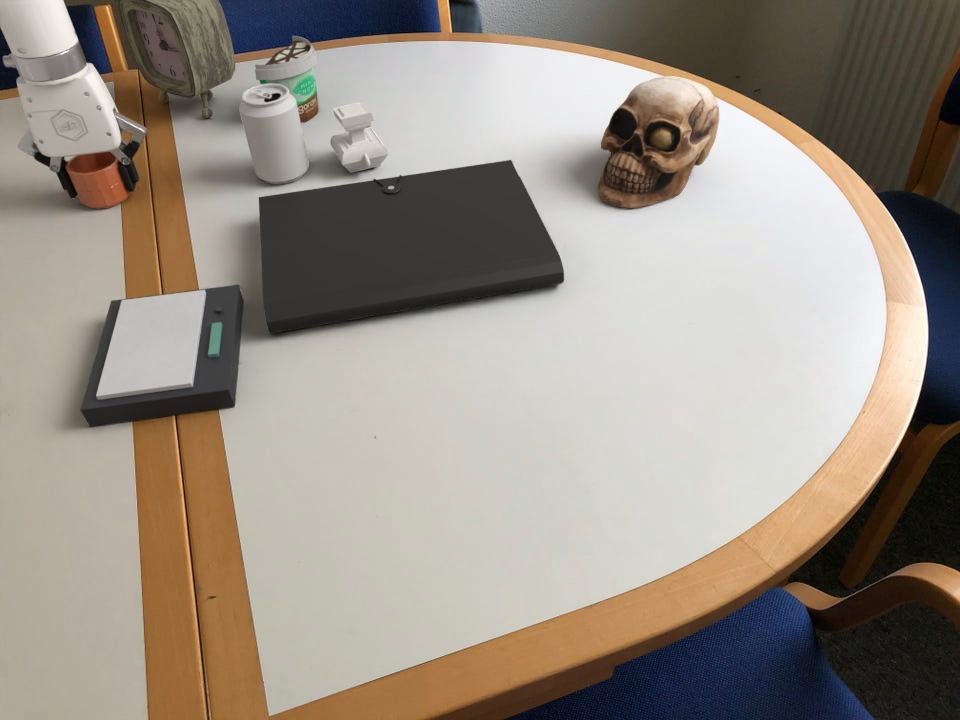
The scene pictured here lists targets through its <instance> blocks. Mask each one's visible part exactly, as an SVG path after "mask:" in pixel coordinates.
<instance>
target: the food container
mask: <svg viewBox="0 0 960 720" xmlns="http://www.w3.org/2000/svg"><path fill="white" fill-rule="evenodd" d="M291 38H292V42H290V44H289V45H288V46H286V47H285V48H283V49H281V50H279V51H277V52H275V53H274V54H273V55H272V56H271V58H270V59H269V60H268V61H267V62H266V63H265V64H257V63H256V64H254V66H255V69H254V71H255V80H257V81H259V83H260V84H259V85H261V84H270V83H272V84H280V85H283V86H285V87H287V88H288V89H289V94H291V95H292V96H294V98H295V99H296V102H297V107H298V112H299V117H300V122H301V124H303V123H306V122H309V121H310V120H312V119H313V118H315V117H316V116H317V115H318V113H319V110H320V109H319V99H318V90H317V80H316V69H315V66H316V65H317V63H318V58H319V57H318V55H317V53H316V50H315V47H314V45H312V43H311V41H309V40H308V39H306V38H304V37H302V36H298V35H291Z"/></svg>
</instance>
